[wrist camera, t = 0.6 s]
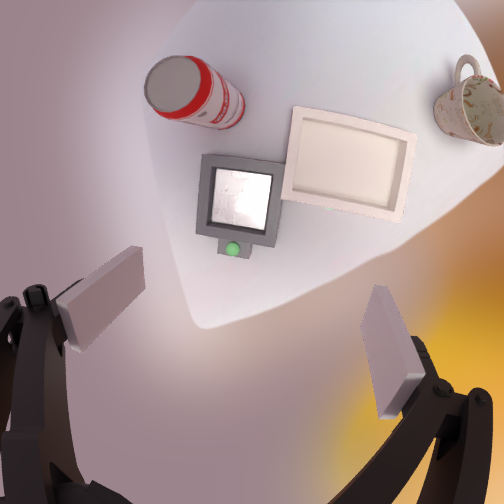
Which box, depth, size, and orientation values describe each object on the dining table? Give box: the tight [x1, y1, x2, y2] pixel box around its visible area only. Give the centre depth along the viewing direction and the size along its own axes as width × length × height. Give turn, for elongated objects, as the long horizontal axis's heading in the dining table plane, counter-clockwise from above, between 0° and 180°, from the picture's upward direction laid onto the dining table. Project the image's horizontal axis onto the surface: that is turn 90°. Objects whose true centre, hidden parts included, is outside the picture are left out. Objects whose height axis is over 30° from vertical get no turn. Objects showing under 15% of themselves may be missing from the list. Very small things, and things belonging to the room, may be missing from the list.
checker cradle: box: [196, 154, 286, 259], centre depth 37 cm, size 13×11×2 cm
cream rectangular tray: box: [281, 106, 417, 223], centre depth 32 cm, size 11×15×4 cm
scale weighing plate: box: [212, 169, 272, 230], centre depth 37 cm, size 7×7×1 cm
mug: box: [434, 55, 504, 146], centre depth 22 cm, size 8×13×10 cm, turn 1°
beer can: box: [144, 56, 245, 130], centre depth 26 cm, size 6×6×16 cm
